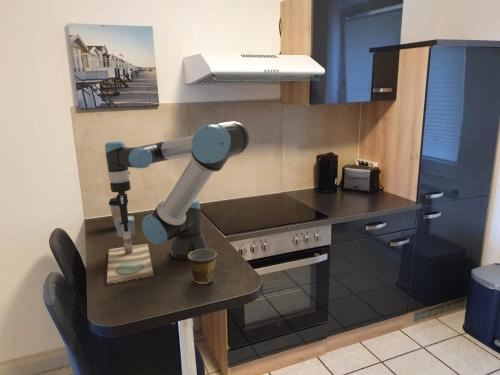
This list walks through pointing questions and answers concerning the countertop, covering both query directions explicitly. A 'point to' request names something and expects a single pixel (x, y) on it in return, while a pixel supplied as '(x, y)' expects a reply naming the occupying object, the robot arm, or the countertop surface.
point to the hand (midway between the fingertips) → (127, 235)
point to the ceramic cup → (202, 264)
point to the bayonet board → (129, 262)
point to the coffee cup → (115, 209)
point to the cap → (119, 226)
